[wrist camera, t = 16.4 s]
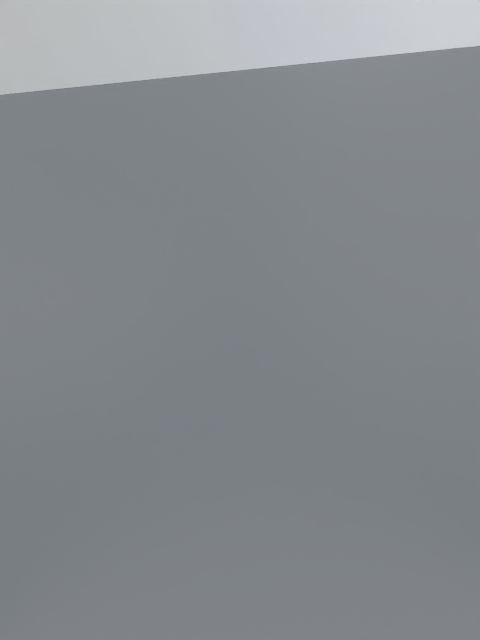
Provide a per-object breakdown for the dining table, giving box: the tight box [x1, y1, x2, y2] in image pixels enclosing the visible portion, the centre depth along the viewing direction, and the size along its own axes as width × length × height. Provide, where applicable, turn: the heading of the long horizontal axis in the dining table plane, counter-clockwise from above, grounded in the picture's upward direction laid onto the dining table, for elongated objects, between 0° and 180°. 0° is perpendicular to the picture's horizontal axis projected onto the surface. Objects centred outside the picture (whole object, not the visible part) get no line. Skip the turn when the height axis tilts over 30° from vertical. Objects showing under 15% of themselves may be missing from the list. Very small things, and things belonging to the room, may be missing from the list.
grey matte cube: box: [0, 46, 480, 640], centre depth 9 cm, size 10×10×9 cm
